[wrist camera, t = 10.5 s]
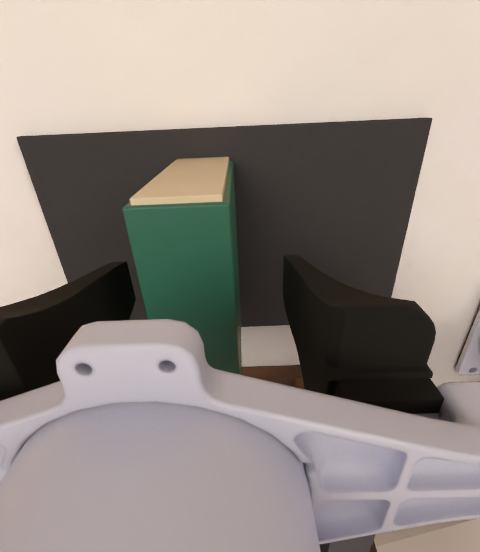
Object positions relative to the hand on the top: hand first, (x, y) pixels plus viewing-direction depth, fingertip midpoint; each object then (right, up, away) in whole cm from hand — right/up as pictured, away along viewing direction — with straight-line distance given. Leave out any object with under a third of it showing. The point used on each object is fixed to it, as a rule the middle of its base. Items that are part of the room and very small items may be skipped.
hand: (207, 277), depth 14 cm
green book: (0, +2, +3) cm, 4 cm away
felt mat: (+1, +2, +4) cm, 4 cm away
